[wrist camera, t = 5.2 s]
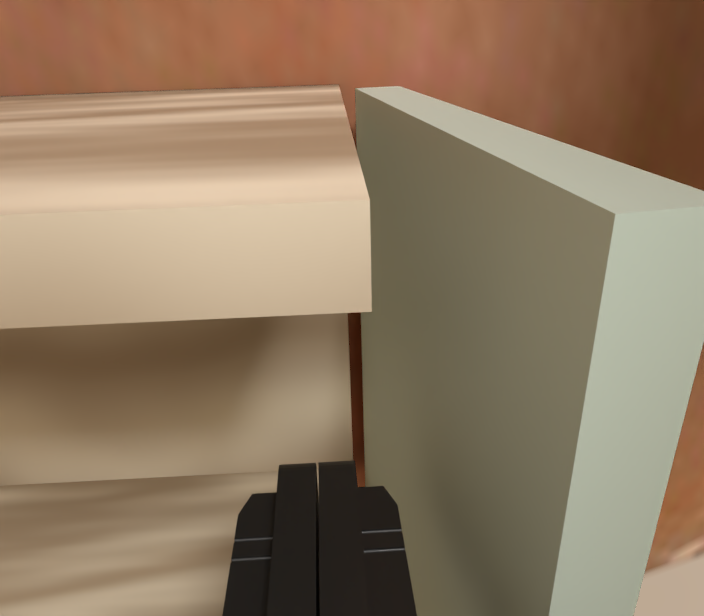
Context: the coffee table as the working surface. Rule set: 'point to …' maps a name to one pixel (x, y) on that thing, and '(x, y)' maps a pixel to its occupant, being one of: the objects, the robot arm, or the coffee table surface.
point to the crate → (167, 332)
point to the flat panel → (522, 356)
